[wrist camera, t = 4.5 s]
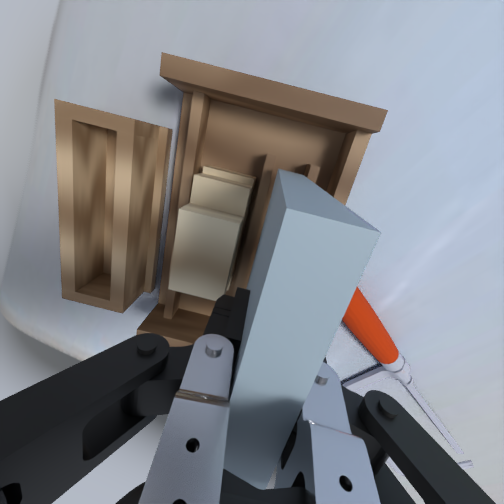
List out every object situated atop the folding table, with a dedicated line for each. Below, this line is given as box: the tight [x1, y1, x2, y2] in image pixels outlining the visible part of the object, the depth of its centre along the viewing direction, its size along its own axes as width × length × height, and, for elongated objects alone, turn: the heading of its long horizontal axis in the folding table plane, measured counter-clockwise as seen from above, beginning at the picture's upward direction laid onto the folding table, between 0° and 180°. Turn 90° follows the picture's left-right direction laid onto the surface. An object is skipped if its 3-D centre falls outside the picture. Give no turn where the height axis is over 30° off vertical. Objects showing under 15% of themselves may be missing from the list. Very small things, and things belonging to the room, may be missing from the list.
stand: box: [54, 99, 172, 313], centre depth 22 cm, size 16×7×5 cm, turn 167°
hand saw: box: [342, 287, 473, 476], centre depth 30 cm, size 33×3×10 cm
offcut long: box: [203, 165, 256, 290], centre depth 22 cm, size 10×4×2 cm, turn 167°
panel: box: [223, 169, 381, 490], centre depth 13 cm, size 12×2×14 cm, turn 166°
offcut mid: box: [190, 173, 253, 288], centre depth 20 cm, size 8×4×2 cm, turn 167°
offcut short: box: [168, 203, 244, 301], centre depth 18 cm, size 6×4×2 cm, turn 167°
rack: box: [137, 52, 388, 347], centre depth 22 cm, size 22×14×6 cm, turn 167°
